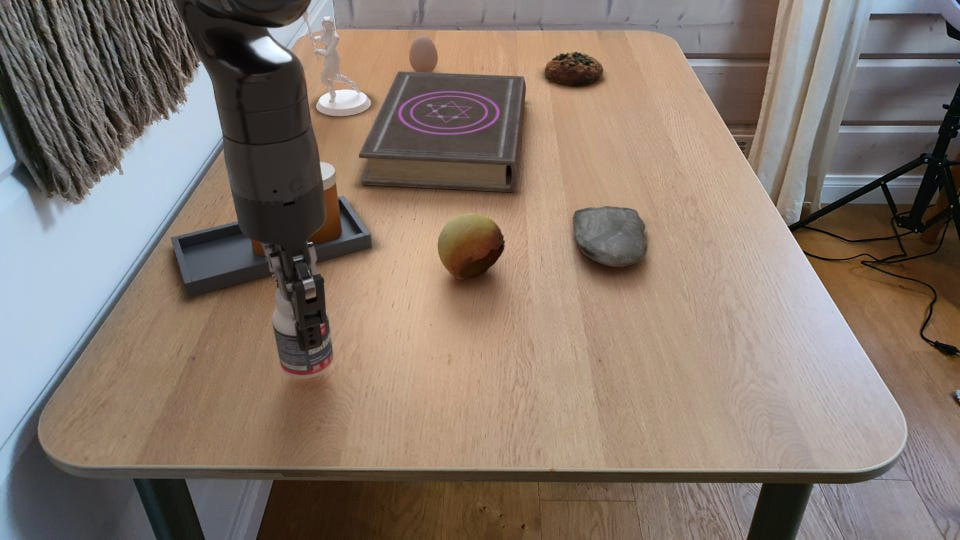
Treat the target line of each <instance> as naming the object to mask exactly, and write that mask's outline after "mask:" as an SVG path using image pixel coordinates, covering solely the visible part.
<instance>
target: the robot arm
mask: <svg viewBox="0 0 960 540" xmlns="http://www.w3.org/2000/svg"><path fill="white" fill-rule="evenodd" d="M173 2H174V5H175V7H176V9H177V12H178V14H179V16H180V19H181V21H182V23H183V26H184V28H185V29H186V32H187V34H188V36H189V38H190V40H191V43H192V46H193V47H194V49H195V52H196V54H197V55H198V58H199V60H200V62H201V63H202V65H203V67H204V68H205V71H206V72H207V74H208V77H209V79H210V81H211V85H212V90H213V96H214V97H213V98H214V101H215V106H216V110H217V115H218V119H219V124H220V129H221V135H222V147H223V159H224V164H225V169H226V173H227V177H228V183H229V187H230V192H231V196H232V201H233V205H234V210H235V215H236V219H237V221H238V224H239V228H240V230H241V231H242V232H243V234H244V235H246V236H247V237H248V238H250V239H252V240H254V241H257V242H261V245H262V247H263V250H264V253H265V258H266V262H267V265H268V268H269V271H270V272H272V275H271V279H272V280H273V281H274V283H275V284H276V288H277V289H278V288H279V289H280V293H281V296H282V297H283V298H284V300H286V301H288V302H289V305H290V309H291V313H292V316H291V318H292V321H294V326H295V331H296V337H297V342H298V346H299V348H300V350H301V351H308V350H311V349H315V348H318V347H320V346H321V345H322V344H323V340H322V333H321V327H320V324H324V323H327V315H326V309H327V305H326V291H325V281H326V280H325V278H324V276H322V274H321V273H318V269H317V265H316V263H317V262H316V261H317V256H316V252H315V248H314V245H313V243H312V242H309V243H307V240H308V239H309V238H310V237H311V236H312V235H313V234H314V233H315V232H317V231H318V230H319V229H320V228H321V227H322V226H323V224H324V223H325V220H326V216H327V211H326V204H325V196H324V188H323V181H322V173H321V166H320V162H321V159H320V152H319V146H318V141H317V137H316V135H315V130H314V127H313V122H312V114H311V107H310V100H309V91H308V83H307V79H306V74H305V69H304V66H303V64H302V61H301V60H300V57H298V56H297V55H296V54H295V53H294V52H292V51H291V50H290V49H289V48H287V47H285V46H284V45H283V44H281V43H280V42H279V41H278V40H277V39H275V38H274V36H273V35H272V34H271V33H270V31H269V29H271V30H272V29H280V28H284V27H288V26H290V25H292V24H294V23H296V22H297V21H299V19H300V18H301V17H303V14H304V13H305V12H306V10H307V11H308V9H309V7H310V5H311V3H312V0H173ZM286 284H292V286H291V289H288V288H287V286H286ZM277 289H276V290H277Z"/></svg>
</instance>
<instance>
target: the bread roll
mask: <svg viewBox="0 0 960 540" xmlns="http://www.w3.org/2000/svg"><path fill="white" fill-rule="evenodd" d="M603 73H604V67H603V64H602V63H601V62H600V61H598V59H596V58H595V57H593V56H590V55H589V54H587V53H582V52H578V51H574V52H572V51H571V52H570V53H569V52H566V53H560V54H559V55H555V57H553V58H551V60H549V61H548V62H547V63H546V64H545V68H544V75H545V76H546V77H547V78H548V79H550V80H552V81H555V82H557V83H560V84H562V85H567V86H570V87H579V86H580V87H581V86H584V85H590V84H591V83H595V82H596V81H598V80H599V79H600V77H601V76H602V74H603Z"/></svg>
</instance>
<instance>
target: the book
mask: <svg viewBox="0 0 960 540" xmlns="http://www.w3.org/2000/svg"><path fill="white" fill-rule="evenodd" d="M526 93H527V83H526V80H525V77H524V76H523V75H503V74H501V75H500V74H499V75H498V74H479V73H478V74H475V73H451V72H450V73H448V72H431V73H428V72H416V71H401V70H398V71H397V72H396V75H395V76H394V79H393V81H392V83H391V85H390V87H389V90H388V92H387V94H386V96H385V98H384V100H383V102H382V104H381V107H380V109H379V111H378V113H377V115H376V117H375V120H374V121H373V123H372V126H371V128H370V130H369V132H368V134H367V136H366V138H365V141H364V143H363V144H362V147H361V149H360V151H359V153H358V159H367V162H368V166H367V168H366V171H365V173H364V175H363V177H362V180H361V185H363V186H365V185H367V186H382V187H384V186H385V187H402V188H403V187H404V188H405V187H406V188H422V189H423V188H426V189H442V190H443V189H446V190H461V191H463V190H464V191H482V192H483V191H484V192H501V193H513V192H514V191H515V189H516V185H517V181H518V171H519V163H520V154H521V153H520V152H521V144H522V134H523V123H524V115H525V104H526V95H527V94H526Z"/></svg>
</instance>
